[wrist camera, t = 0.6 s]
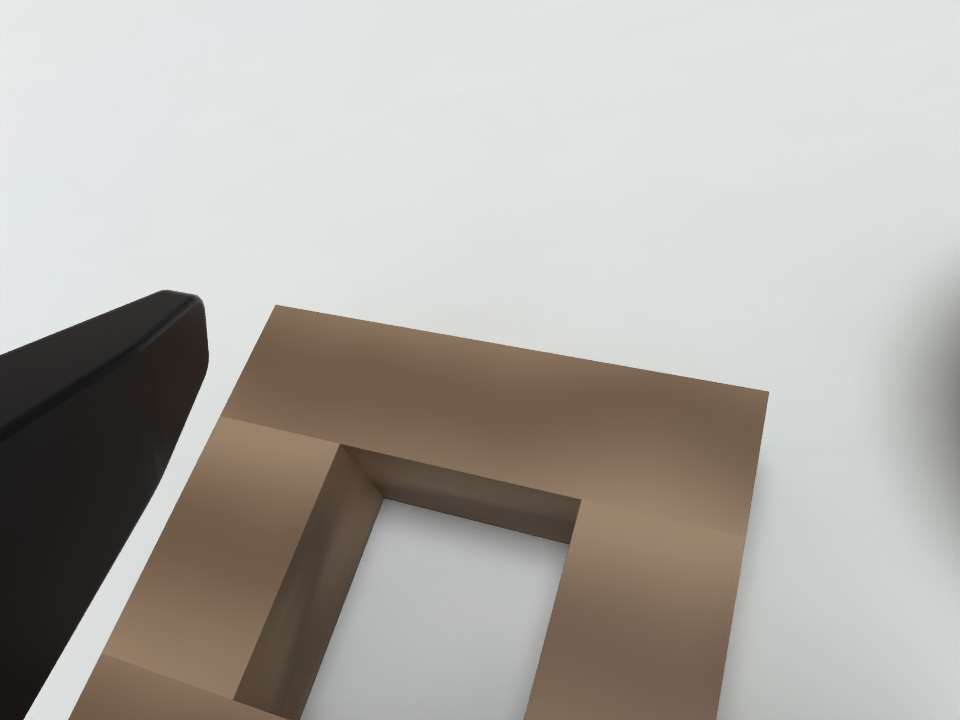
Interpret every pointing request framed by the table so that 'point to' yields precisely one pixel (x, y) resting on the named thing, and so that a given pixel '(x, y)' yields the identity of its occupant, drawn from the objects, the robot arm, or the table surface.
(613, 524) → the socket block
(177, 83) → the table surface
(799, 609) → the table surface
